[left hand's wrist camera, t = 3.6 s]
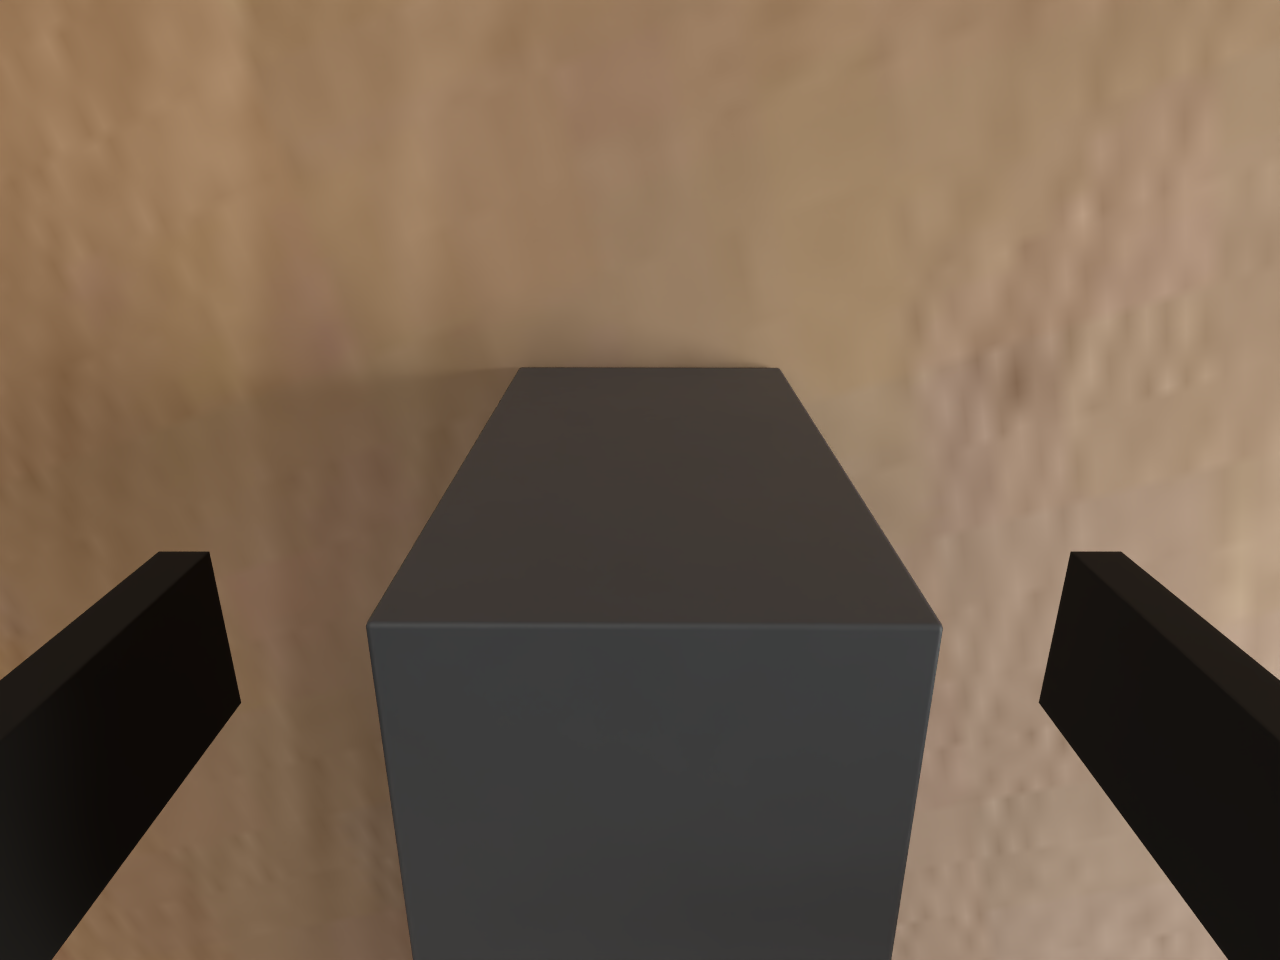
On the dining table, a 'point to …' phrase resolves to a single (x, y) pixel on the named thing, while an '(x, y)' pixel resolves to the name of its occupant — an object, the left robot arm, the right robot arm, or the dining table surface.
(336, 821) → the dining table surface
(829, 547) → the bar
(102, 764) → the left robot arm
